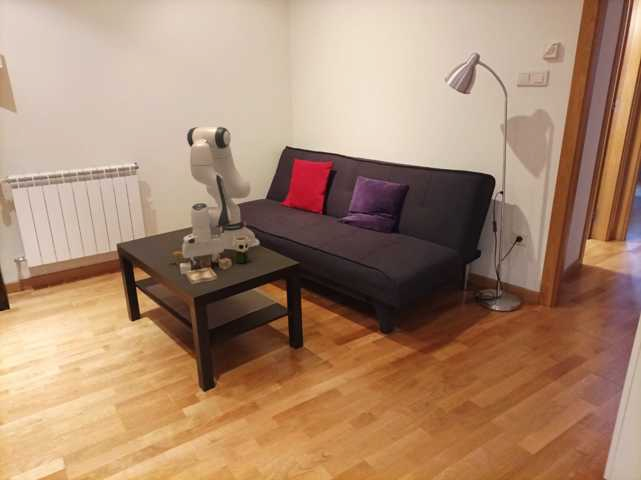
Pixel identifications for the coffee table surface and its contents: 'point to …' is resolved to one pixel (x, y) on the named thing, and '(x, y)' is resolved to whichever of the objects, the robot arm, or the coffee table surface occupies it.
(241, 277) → the coffee table surface
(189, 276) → the birch tray
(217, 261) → the pinkish tan rounded lump
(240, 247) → the character mug
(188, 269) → the white plastic block
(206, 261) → the walnut block
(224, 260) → the oak block
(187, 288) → the coffee table surface
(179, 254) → the lion figurine
